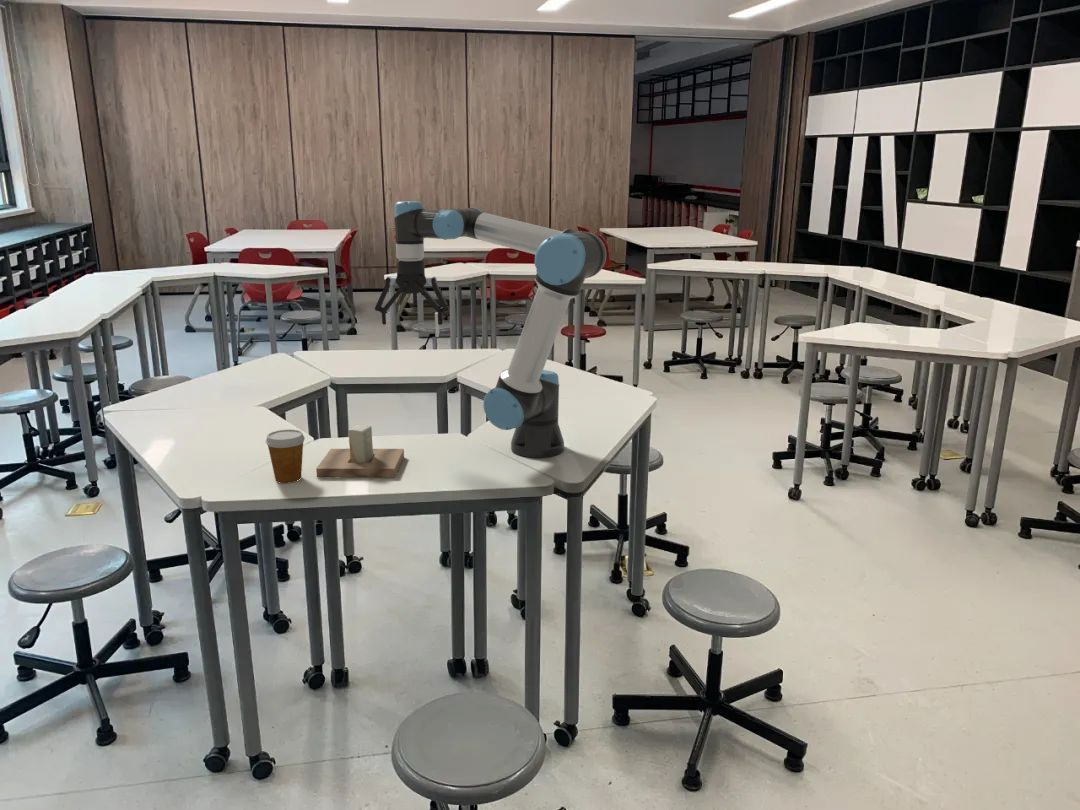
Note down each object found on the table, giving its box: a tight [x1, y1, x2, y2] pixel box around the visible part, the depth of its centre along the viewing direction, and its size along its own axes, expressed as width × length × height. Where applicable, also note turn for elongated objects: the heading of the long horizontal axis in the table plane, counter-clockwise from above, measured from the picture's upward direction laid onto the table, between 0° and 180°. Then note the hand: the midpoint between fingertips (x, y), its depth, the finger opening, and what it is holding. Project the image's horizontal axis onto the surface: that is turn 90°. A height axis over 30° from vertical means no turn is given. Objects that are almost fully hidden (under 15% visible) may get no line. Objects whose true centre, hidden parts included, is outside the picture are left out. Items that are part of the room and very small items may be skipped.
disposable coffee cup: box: [264, 428, 306, 484], centre depth 206 cm, size 10×10×12 cm
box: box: [348, 424, 374, 463], centre depth 215 cm, size 5×4×11 cm
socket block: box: [316, 448, 405, 479], centre depth 216 cm, size 20×16×2 cm
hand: (413, 336), depth 228 cm, fingers open, 13 cm apart
